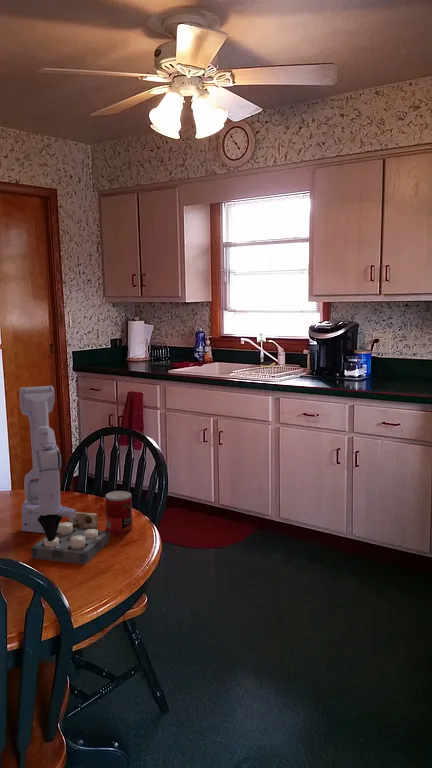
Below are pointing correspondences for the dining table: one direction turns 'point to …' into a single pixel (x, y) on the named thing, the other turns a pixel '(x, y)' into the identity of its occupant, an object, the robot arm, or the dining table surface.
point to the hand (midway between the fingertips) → (51, 539)
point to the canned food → (118, 512)
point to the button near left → (51, 542)
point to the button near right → (77, 542)
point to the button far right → (91, 533)
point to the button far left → (65, 529)
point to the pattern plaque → (84, 521)
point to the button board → (65, 551)
